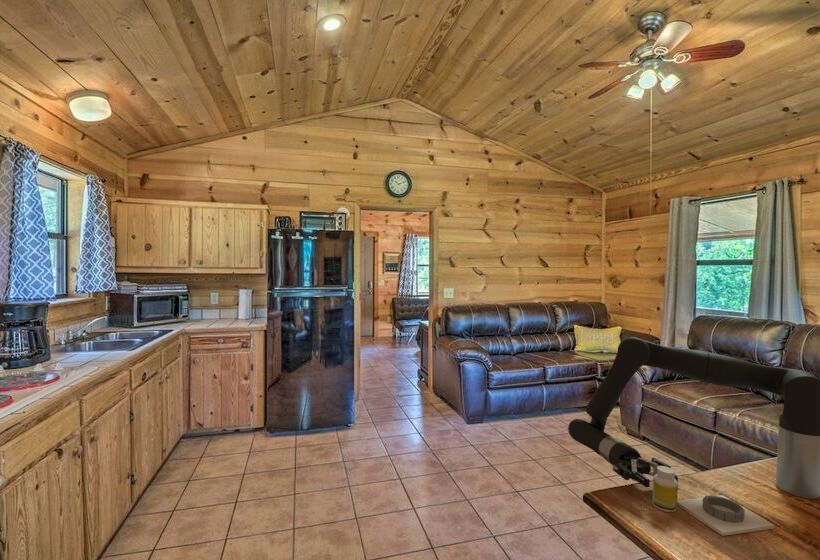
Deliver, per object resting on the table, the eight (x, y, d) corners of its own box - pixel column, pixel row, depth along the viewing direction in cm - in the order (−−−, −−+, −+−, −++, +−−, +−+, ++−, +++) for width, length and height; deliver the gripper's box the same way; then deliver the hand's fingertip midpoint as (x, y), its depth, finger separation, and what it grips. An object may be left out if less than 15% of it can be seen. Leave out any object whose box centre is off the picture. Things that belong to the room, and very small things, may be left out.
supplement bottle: (680, 514, 104) (682, 475, 104) (656, 511, 105) (658, 473, 105) (671, 502, 110) (673, 465, 109) (648, 499, 111) (650, 463, 110)
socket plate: (722, 498, 112) (723, 487, 112) (774, 528, 99) (774, 516, 99) (675, 503, 109) (676, 493, 109) (722, 535, 96) (723, 524, 96)
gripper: (598, 443, 122) (639, 470, 106) (640, 440, 125) (686, 465, 109) (597, 468, 123) (638, 499, 107) (639, 464, 126) (685, 493, 110)
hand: (662, 482), depth 108 cm, fingers open, 8 cm apart
